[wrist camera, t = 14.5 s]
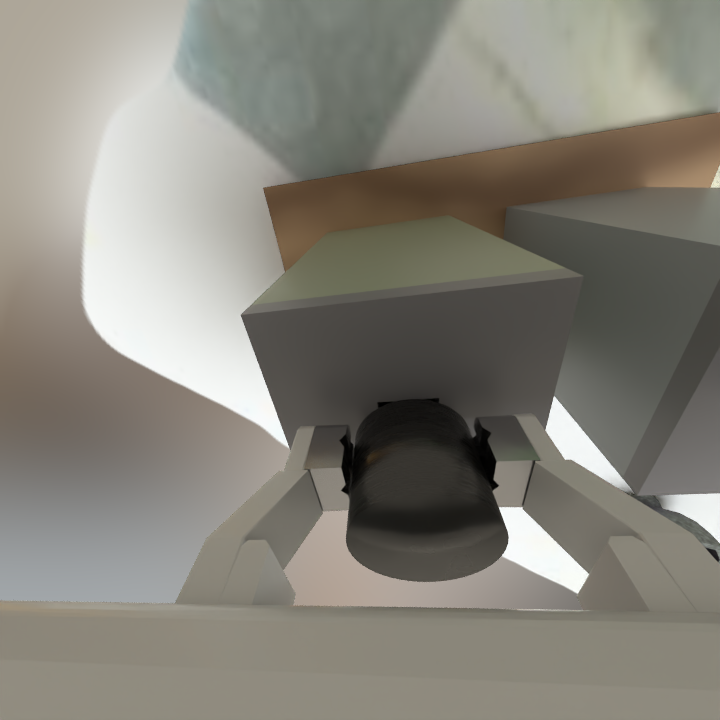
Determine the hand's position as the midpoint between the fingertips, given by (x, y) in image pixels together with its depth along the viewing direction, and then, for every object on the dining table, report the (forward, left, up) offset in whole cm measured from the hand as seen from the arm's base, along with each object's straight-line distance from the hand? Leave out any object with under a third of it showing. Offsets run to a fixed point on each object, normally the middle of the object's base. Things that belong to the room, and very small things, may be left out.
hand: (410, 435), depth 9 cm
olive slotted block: (+1, 0, -17) cm, 17 cm away
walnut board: (+1, +6, -19) cm, 20 cm away
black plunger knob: (+1, 0, -17) cm, 17 cm away
